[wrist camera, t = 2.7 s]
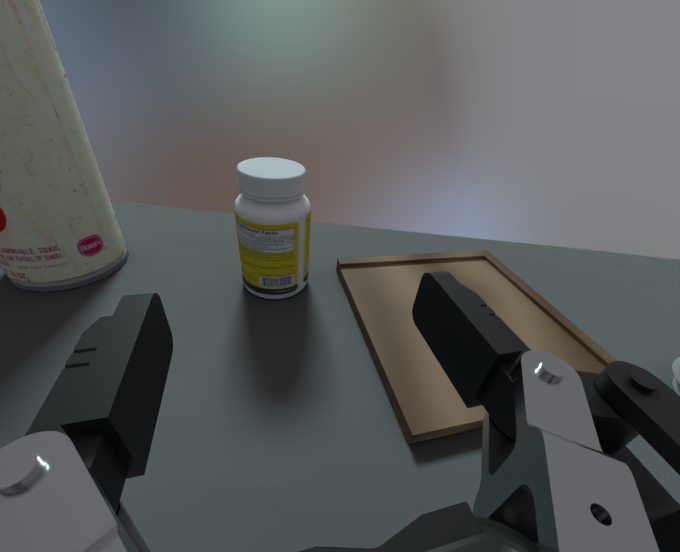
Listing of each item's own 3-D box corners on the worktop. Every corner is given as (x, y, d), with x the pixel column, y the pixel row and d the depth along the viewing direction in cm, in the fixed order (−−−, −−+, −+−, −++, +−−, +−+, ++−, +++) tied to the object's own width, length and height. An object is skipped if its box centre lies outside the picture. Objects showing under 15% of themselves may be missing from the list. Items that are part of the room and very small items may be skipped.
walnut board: (408, 444, 14) (414, 431, 13) (336, 269, 25) (337, 258, 24) (629, 393, 18) (642, 382, 17) (482, 260, 28) (486, 250, 28)
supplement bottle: (276, 256, 26) (273, 151, 21) (320, 279, 24) (329, 169, 19) (228, 281, 22) (211, 163, 17) (275, 311, 20) (271, 186, 15)
